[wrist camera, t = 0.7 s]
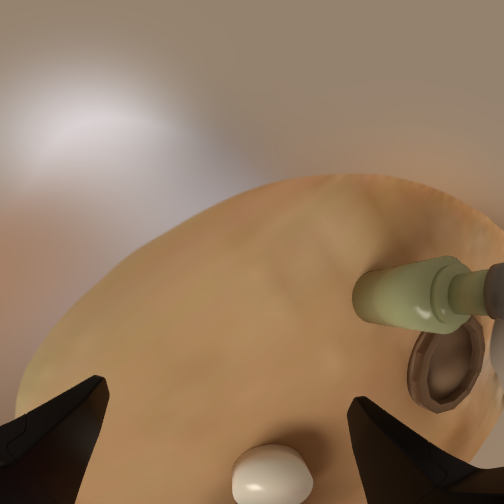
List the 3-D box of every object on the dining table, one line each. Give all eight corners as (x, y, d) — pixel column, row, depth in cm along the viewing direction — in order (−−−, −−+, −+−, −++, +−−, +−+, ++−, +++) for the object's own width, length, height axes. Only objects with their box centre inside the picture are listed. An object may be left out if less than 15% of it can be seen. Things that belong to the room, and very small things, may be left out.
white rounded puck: (313, 477, 20) (322, 496, 17) (249, 500, 19) (252, 520, 16) (289, 432, 21) (298, 450, 17) (219, 457, 20) (218, 478, 16)
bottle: (401, 308, 23) (530, 309, 9) (362, 332, 23) (492, 359, 8) (385, 262, 24) (512, 228, 9) (344, 284, 23) (473, 265, 9)
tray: (476, 371, 23) (488, 373, 21) (416, 425, 21) (427, 431, 19) (462, 294, 24) (475, 294, 22) (396, 345, 23) (409, 349, 20)
